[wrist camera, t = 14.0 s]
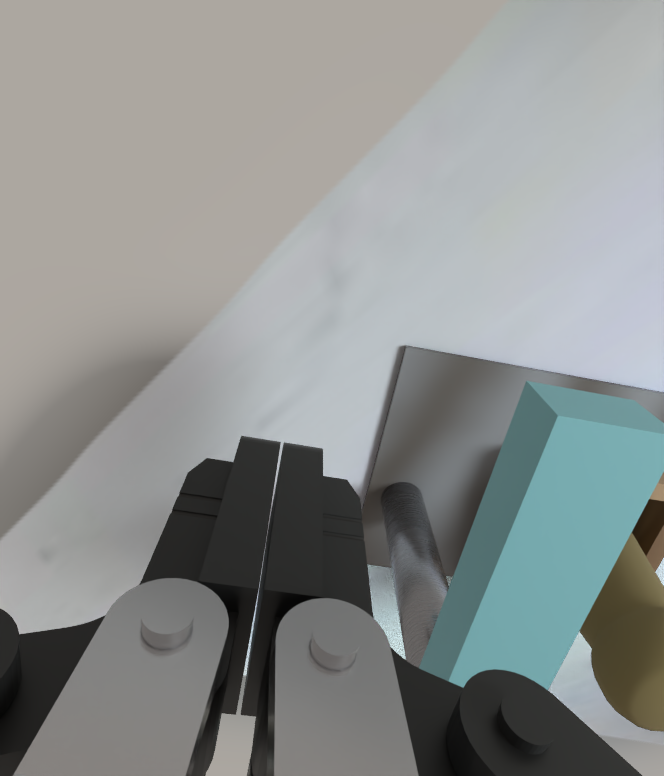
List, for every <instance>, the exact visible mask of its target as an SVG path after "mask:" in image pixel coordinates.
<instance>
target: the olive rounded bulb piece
mask: <svg viewBox="0 0 664 776" xmlns="http://www.w3.org/2000/svg"><path fill="white" fill-rule="evenodd" d="M579 631H580V633H581V634H582V635H583V637H584V638H585V640H586V641H587V642H588V644H589V645H590V646H591V648H592V651H591V657H592V667H593V672H594V676H595V678H596V680H597V682H598V684H599V686H600V688H601V690H602V692H603V694H604V696H605V698H606V699H607V701H608V702H609V703H610V704H611V706H612V707H613V708H614V709H615V710H616V711H617V712H618V713H619V714H621V715H622V716H623V717H625V718H626V719H628V720H629V721H630V722H632V723H633V724H635V725H636V726H638V727H641V728H644V729H648V730H651V731H664V586H663V585H662V583H661V581H660V580H659V578H658V576H657V574H656V573H655V571H654V569H653V568H652V566H651V564H650V562H649V561H648V559H647V557H646V556H645V554H644V552H643V550H642V549H641V547H640V545H639V544H638V542H637V540H636V539H635V537H634V535H633V533H632V532H631V534H630V536H629V538H628V540H627V542H626V544H625V546H624V547H623V549H622V551H621V553H620V555H619V557H618V559H617V561H616V563H615V564H614V566H613V568H612V570H611V572H610V574H609V576H608V578H607V580H606V581H605V583H604V585H603V587H602V589H601V591H600V593H599V595H598V597H597V598H596V600H595V602H594V604H593V606H592V608H591V610H590V612H589V614H588V615H587V617H586V619H585V621H584V623H583V625H582V627H581V629H580V630H579Z"/></svg>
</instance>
